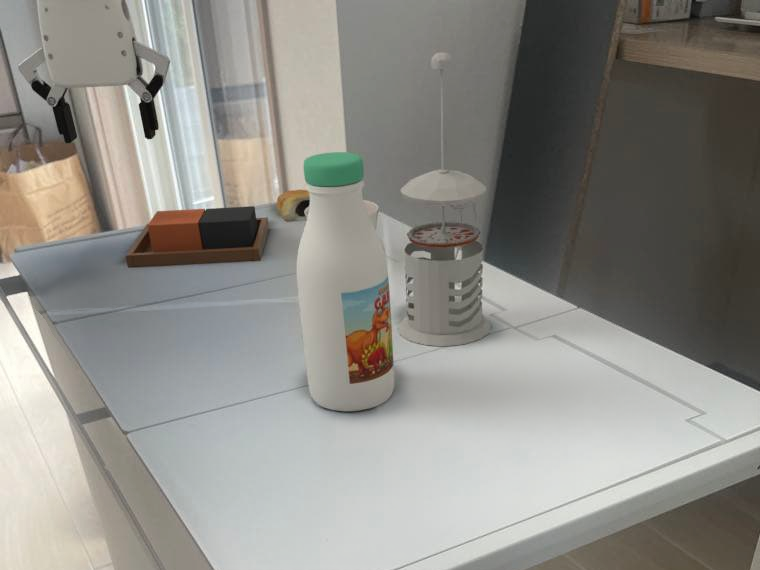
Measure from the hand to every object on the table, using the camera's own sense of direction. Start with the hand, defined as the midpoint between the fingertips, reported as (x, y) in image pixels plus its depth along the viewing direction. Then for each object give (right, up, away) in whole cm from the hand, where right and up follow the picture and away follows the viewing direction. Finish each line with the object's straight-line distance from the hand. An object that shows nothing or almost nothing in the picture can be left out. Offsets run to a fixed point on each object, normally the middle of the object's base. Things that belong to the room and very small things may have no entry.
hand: (111, 139), depth 102 cm
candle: (+28, -14, +3) cm, 32 cm away
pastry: (+21, -2, +20) cm, 29 cm away
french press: (+40, -26, -14) cm, 50 cm away
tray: (+9, -11, +9) cm, 17 cm away
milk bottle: (+31, -36, -26) cm, 54 cm away
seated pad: (+13, -10, +8) cm, 19 cm away
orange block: (+7, -10, +8) cm, 15 cm away
